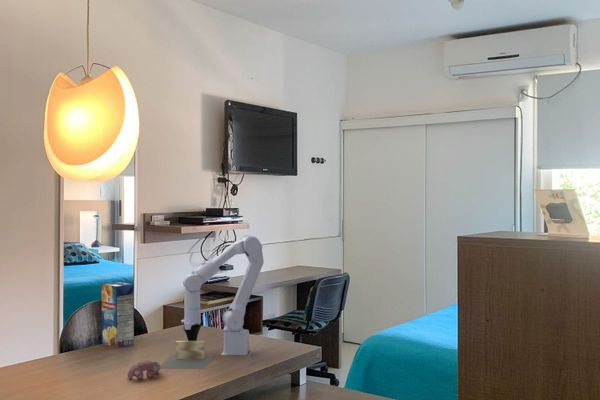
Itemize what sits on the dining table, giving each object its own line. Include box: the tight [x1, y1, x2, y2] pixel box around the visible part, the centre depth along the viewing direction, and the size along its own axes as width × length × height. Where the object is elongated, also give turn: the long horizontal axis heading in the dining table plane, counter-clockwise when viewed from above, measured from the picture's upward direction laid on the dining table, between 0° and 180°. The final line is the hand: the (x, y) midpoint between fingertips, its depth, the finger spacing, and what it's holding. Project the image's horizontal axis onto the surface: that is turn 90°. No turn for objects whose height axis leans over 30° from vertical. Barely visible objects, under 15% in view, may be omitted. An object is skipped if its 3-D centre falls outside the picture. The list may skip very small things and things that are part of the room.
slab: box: [175, 340, 206, 359], centre depth 205 cm, size 10×2×6 cm, turn 87°
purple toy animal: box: [127, 359, 161, 380], centre depth 184 cm, size 10×5×7 cm, turn 122°
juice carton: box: [101, 281, 135, 349], centre depth 230 cm, size 12×8×24 cm, turn 47°
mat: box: [160, 354, 216, 370], centre depth 201 cm, size 16×18×1 cm
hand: (192, 345), depth 209 cm, fingers closed
